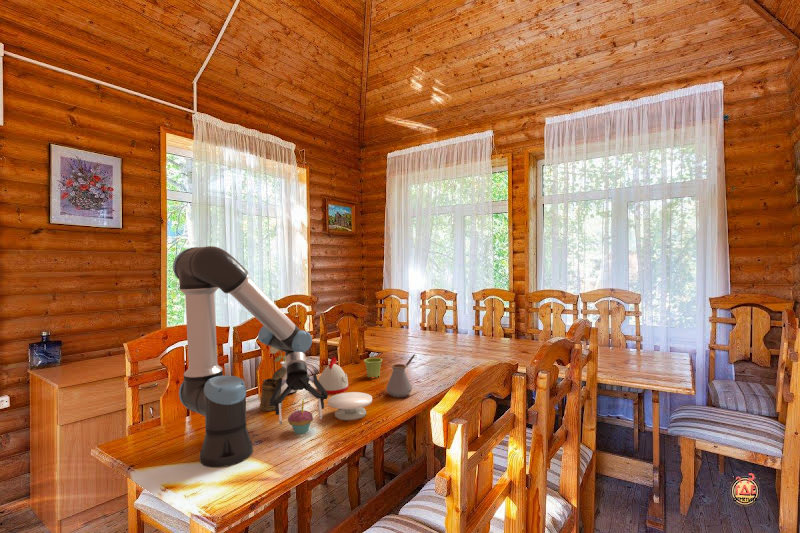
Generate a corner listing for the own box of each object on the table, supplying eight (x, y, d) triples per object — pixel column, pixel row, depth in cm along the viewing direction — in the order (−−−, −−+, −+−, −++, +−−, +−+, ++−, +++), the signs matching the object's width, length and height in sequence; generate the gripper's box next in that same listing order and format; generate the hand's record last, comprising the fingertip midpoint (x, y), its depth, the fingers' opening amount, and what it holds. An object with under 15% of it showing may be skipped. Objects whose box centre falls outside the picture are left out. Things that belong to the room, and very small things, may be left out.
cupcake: (318, 430, 145) (317, 396, 145) (297, 438, 139) (296, 403, 139) (304, 424, 151) (303, 391, 151) (283, 432, 145) (282, 397, 145)
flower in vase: (291, 386, 198) (290, 334, 198) (304, 391, 190) (302, 337, 190) (265, 393, 189) (264, 338, 189) (277, 398, 181) (276, 341, 181)
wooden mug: (274, 415, 161) (273, 369, 161) (255, 408, 169) (254, 364, 169) (293, 409, 168) (292, 364, 167) (274, 402, 176) (273, 360, 176)
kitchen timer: (352, 385, 198) (351, 354, 198) (343, 394, 185) (342, 361, 185) (324, 384, 201) (323, 353, 201) (313, 393, 187) (312, 360, 187)
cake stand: (360, 425, 149) (360, 408, 149) (319, 419, 155) (319, 403, 155) (379, 409, 165) (379, 394, 165) (342, 404, 171) (341, 390, 171)
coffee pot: (404, 400, 175) (403, 365, 175) (381, 396, 181) (380, 362, 181) (426, 387, 194) (426, 355, 194) (405, 383, 199) (404, 352, 199)
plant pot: (382, 379, 208) (381, 362, 208) (363, 379, 208) (363, 362, 208) (383, 374, 217) (382, 357, 217) (365, 374, 218) (364, 358, 218)
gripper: (328, 368, 163) (335, 419, 149) (262, 375, 155) (263, 430, 141) (330, 358, 158) (338, 410, 144) (261, 364, 150) (263, 420, 136)
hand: (301, 420), depth 143 cm, fingers open, 13 cm apart
